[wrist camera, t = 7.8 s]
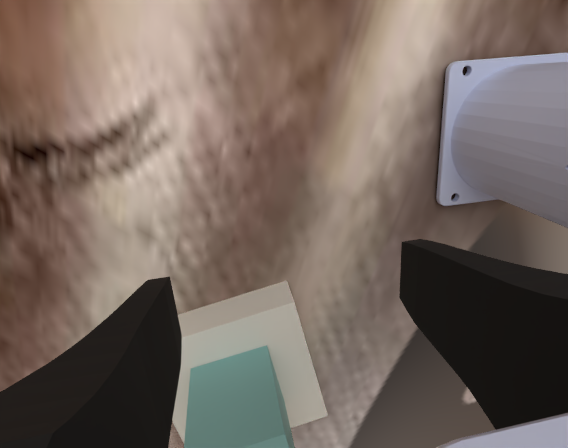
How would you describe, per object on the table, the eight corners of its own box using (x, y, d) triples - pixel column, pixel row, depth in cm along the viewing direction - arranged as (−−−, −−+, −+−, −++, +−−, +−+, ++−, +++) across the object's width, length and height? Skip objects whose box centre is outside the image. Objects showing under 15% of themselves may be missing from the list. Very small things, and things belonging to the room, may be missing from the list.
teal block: (266, 345, 22) (284, 434, 16) (284, 401, 24) (306, 499, 18) (190, 368, 22) (182, 467, 16) (214, 424, 23) (213, 531, 18)
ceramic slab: (285, 276, 24) (294, 302, 21) (316, 381, 27) (328, 415, 24) (146, 320, 23) (136, 352, 21) (195, 422, 27) (193, 461, 24)
